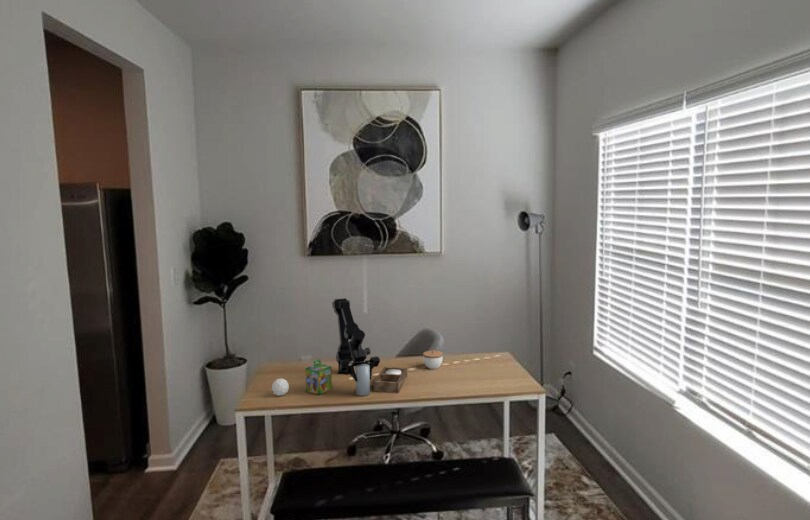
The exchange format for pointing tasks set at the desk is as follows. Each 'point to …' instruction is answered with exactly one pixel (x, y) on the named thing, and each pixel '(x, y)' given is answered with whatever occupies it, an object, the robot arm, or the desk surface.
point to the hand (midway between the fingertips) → (363, 380)
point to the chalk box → (318, 378)
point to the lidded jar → (432, 359)
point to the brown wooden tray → (390, 380)
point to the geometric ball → (280, 387)
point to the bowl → (393, 371)
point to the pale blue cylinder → (363, 379)
